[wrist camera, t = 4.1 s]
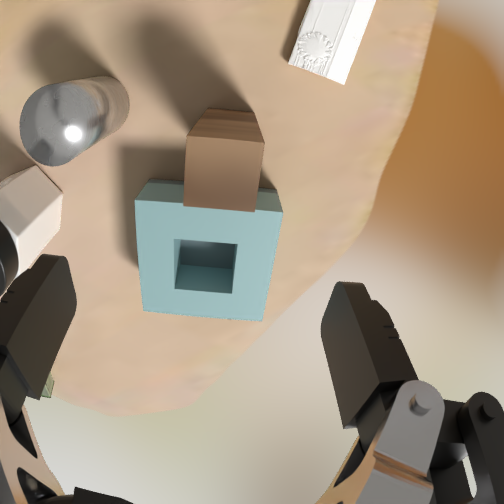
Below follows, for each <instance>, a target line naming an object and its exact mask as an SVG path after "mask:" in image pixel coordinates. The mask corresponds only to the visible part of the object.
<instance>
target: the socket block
mask: <svg viewBox="0 0 504 504" xmlns="http://www.w3.org/2000/svg"><path fill="white" fill-rule="evenodd" d="M183 197H184V181H174V180H158V179H149V180H148V182H147V183H146V185H145V186H144V187H143V189H142V190H141V192H140V193H139V195H138V196H137V197H136V199H135V220H136V237H137V251H138V264H139V275H140V285H141V294H142V303H143V311H148V312H157V313H166V314H176V315H186V316H197V317H209V318H222V319H235V320H250V321H262V319H263V314H264V309H265V304H266V299H267V294H268V289H269V284H270V279H271V274H272V269H273V264H274V258H275V253H276V248H277V243H278V238H279V232H280V227H281V222H282V216H283V210H282V207H281V203H280V200H279V196H278V193H277V190H275V189H266V188H258V193H257V200H256V207H255V212H244V211H233V210H222V209H210V208H198V207H186V206H183Z"/></svg>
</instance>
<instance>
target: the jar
mask: <svg viewBox="0 0 504 504" xmlns="http://www.w3.org/2000/svg"><path fill="white" fill-rule="evenodd" d="M62 199H63V193H62V192H61V191H60V190H59V189H58V188H57V187H56V186H55V185H54V184H53V182H52V181H51V180H50V179H49V178H48V177H47V176H46V175H45V174H44V173H43V172H42V171H41V170H40V169H39V168H38V167H37V166H33V167H30V168H28V169H25V170H23V171H20V172H18V173H15V174H13V175H11V176H9V177H7V178H6V179H4V180H3V181H1V182H0V296H1V295H2V294H3V293H4V292H5V290H6V289H7V288H8V286H9V285H10V284H11V282H12V281H13V280H14V279H15V278H16V277H18V276H19V275H20V274H21V273H23V272H24V271H25V270H27V269H28V267H29V266H30V265H31V263H32V262H33V261H34V260H35V258H36V257H37V256H38V255H39V253H40V252H41V251H42V250H43V249H44V247H45V246H46V245H47V244H48V242H49V241H50V240H51V239H52V238H53V237H54V235H55V234H56V233H57V232H58V231H59V230H60V222H61V209H62Z"/></svg>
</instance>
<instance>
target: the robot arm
mask: <svg viewBox="0 0 504 504" xmlns="http://www.w3.org/2000/svg"><path fill="white" fill-rule="evenodd" d="M76 305H77V299H76V293H75V289H74V285H73V281H72V277H71V273H70V268H69V264H68V261H67V259H66V257H64V256H58V255H49V254H42V255H41V256H40V257H39V258H38V259H37V261H36V262H35V263H34V265H33V266H32V268H31V269H27V270H25V271H24V272H23V273H21V274H20V275H19V276H18V277H16V278H15V279H14V281H13V282H12V284H11V285H10V286H9V288H8V289H7V293H5V294H4V295H3V297H2V298H1V302H0V504H133V503H131V502H129V501H126V500H124V499H122V498H119V497H114V496H109V495H105V494H101V493H97V492H93V491H89V490H85V489H81V488H78V487H75V489H74V495H65V494H64V492H63V490H62V488H61V486H60V484H59V482H58V481H57V479H56V478H55V476H54V474H53V473H52V472H51V470H49V468H48V466H47V464H46V462H45V460H44V458H43V456H42V453H41V451H40V448H39V445H38V443H37V440H36V437H35V435H34V432H33V429H32V426H31V423H30V420H29V417H28V414H27V411H26V408H25V406H24V405H23V403H24V401H25V398H26V396H28V397H31V398H34V399H37V400H40V397H41V394H42V392H43V389H44V386H45V384H46V381H47V378H48V376H49V373H50V371H51V368H52V366H53V363H54V361H55V358H56V356H57V353H58V351H59V349H60V346H61V344H62V342H63V339H64V337H65V335H66V333H67V330H68V328H69V326H70V324H71V321H72V319H73V317H74V315H75V311H76ZM321 338H322V342H323V346H324V350H325V354H326V358H327V362H328V366H329V370H330V374H331V378H332V382H333V386H334V390H335V394H336V398H337V403H338V407H339V411H340V416H341V420H342V425H343V429H348V428H357V429H358V433H359V436H358V437H357V438H356V440H355V442H354V443H353V446H352V447H351V449H350V451H349V453H348V455H347V456H346V458H345V460H344V462H343V464H342V465H341V467H340V469H339V471H338V472H337V474H336V476H335V477H334V479H333V481H332V483H331V484H330V486H329V487H328V489H327V490H326V491H325V493H324V494H323V495H322V496H321V497H320V498H319V500H318V501H317V502H316V503H315V504H504V411H503V409H502V407H501V405H500V403H499V402H498V400H497V399H496V398H494V397H493V396H492V395H490V394H488V393H485V392H478V393H475V394H474V395H473V396H472V397H471V398H470V399H469V400H468V401H467V402H466V403H463V402H456V401H450V400H444V399H443V398H442V397H441V395H440V393H439V392H438V391H437V390H436V389H435V388H434V387H433V386H432V385H430V384H428V383H426V382H424V381H420V380H419V379H418V377H417V375H416V373H415V370H414V368H413V366H412V364H411V361H410V359H409V356H408V355H407V352H406V350H405V348H404V345H403V343H402V341H401V339H399V334H398V332H397V330H396V329H395V328H394V324H393V322H392V319H391V317H390V315H389V313H388V312H387V311H386V310H385V309H384V308H383V307H382V305H380V303H379V302H378V301H376V300H371V298H370V296H369V294H368V292H367V290H366V287H365V286H364V284H363V283H355V282H340V281H339V282H337V283H336V285H335V286H334V289H333V292H332V294H331V298H330V300H329V303H328V305H327V308H326V310H325V313H324V316H323V318H322V323H321ZM466 456H469V460H470V463H471V467H472V470H473V474H474V478H475V481H476V485H477V492H476V495H475V497H474V498H473V497H472V495H471V492H470V488H469V484H468V480H467V476H466V472H465V468H464V465H463V461H462V459H464V458H465V457H466Z"/></svg>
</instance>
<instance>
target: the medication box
mask: <svg viewBox="0 0 504 504" xmlns="http://www.w3.org/2000/svg"><path fill="white" fill-rule="evenodd" d="M53 385H54V380H53V378H52V375H51V372H50V373H49V376H48V378H47V381H46V384H45V386H44V389H43V392H42V394H41V396H43V397H47V398H51V394H52V389H53Z"/></svg>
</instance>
